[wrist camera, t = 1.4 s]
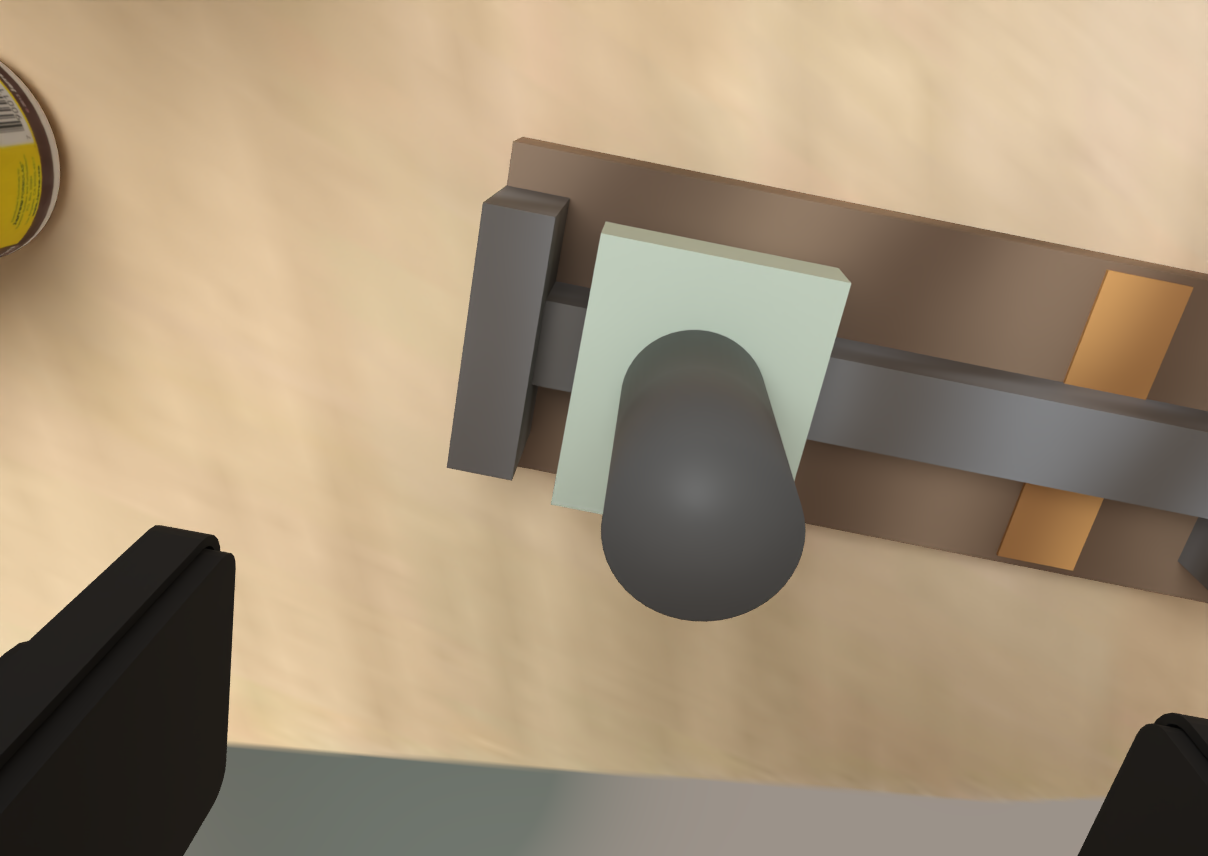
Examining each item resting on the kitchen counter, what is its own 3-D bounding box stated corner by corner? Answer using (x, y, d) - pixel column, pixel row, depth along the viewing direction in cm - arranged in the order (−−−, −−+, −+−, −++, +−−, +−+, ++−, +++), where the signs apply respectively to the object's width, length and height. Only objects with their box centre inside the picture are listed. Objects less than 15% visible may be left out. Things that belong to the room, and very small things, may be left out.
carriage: (823, 250, 22) (931, 377, 13) (760, 482, 24) (814, 728, 15) (611, 208, 22) (570, 305, 13) (566, 444, 24) (506, 667, 15)
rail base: (1322, 297, 23) (1467, 348, 19) (1188, 575, 26) (1288, 673, 22) (522, 137, 23) (489, 152, 19) (478, 435, 26) (441, 506, 22)
